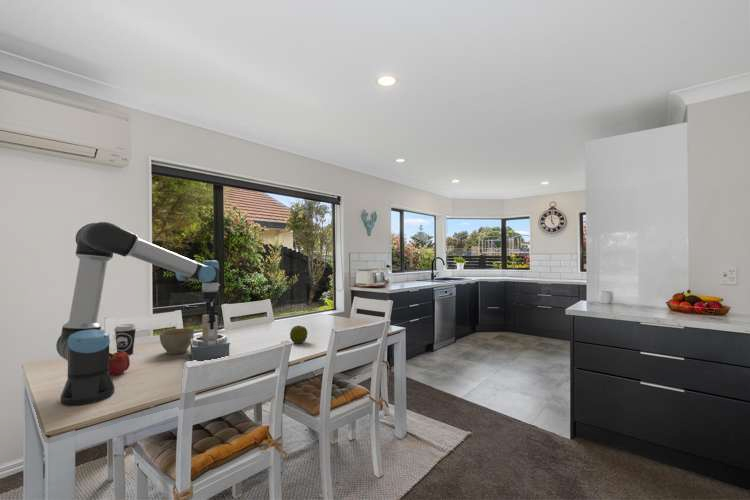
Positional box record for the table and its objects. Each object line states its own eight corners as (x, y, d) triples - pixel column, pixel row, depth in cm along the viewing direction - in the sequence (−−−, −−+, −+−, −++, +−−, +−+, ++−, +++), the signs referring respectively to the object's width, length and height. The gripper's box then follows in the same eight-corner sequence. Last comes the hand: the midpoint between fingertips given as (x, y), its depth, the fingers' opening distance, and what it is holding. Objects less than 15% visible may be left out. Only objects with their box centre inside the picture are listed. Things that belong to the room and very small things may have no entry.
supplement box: (218, 341, 174) (218, 315, 174) (208, 343, 170) (208, 316, 170) (211, 338, 179) (211, 313, 180) (201, 340, 176) (202, 314, 176)
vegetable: (101, 380, 142) (101, 356, 142) (96, 374, 149) (96, 351, 149) (132, 373, 150) (132, 350, 151) (126, 368, 157) (126, 346, 158)
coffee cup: (139, 353, 180) (140, 324, 180) (118, 358, 172) (119, 328, 172) (131, 350, 185) (131, 322, 185) (110, 355, 177) (110, 325, 177)
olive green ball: (287, 344, 200) (287, 325, 200) (293, 340, 209) (294, 322, 209) (303, 345, 198) (303, 326, 198) (309, 341, 208) (309, 323, 208)
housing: (229, 359, 172) (230, 338, 172) (192, 364, 163) (192, 343, 163) (224, 349, 189) (224, 330, 190) (189, 353, 181) (189, 334, 181)
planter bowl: (185, 346, 195) (185, 326, 195) (199, 351, 186) (200, 330, 186) (153, 352, 182) (153, 332, 182) (167, 358, 172) (167, 336, 173)
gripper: (221, 293, 166) (221, 337, 166) (215, 288, 188) (215, 327, 187) (204, 293, 162) (204, 339, 162) (200, 289, 184) (199, 329, 184)
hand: (210, 333), depth 175 cm, fingers open, 13 cm apart
